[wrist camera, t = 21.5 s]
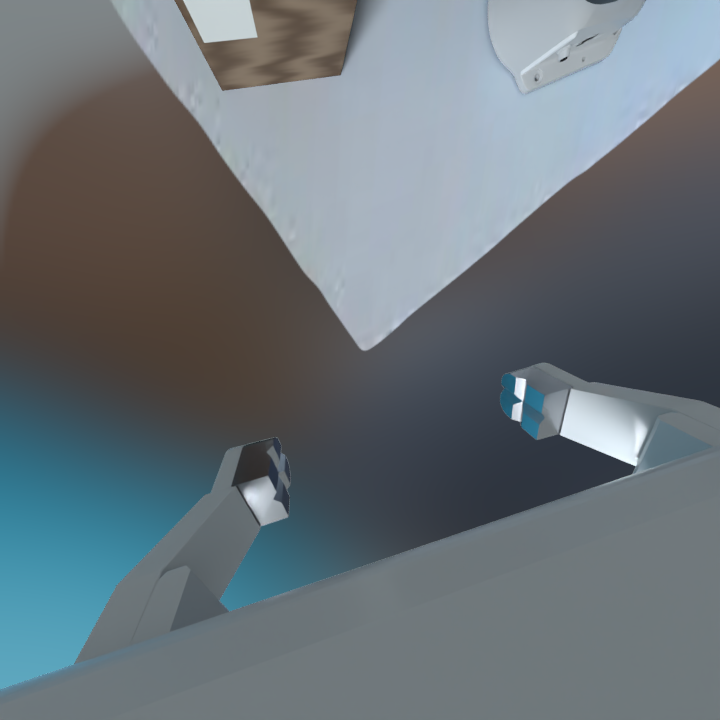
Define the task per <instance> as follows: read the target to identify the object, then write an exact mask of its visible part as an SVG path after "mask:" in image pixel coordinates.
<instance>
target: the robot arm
mask: <svg viewBox="0 0 720 720" xmlns="http://www.w3.org/2000/svg"><path fill="white" fill-rule="evenodd" d="M645 1H646V0H488V26H489V33H490V38H491V42H492V45H493V48H494V50H495V52H496V54H497V56H498V58H499V60H500V61H501V62H502V64H503V65H504V66H505V67H506V68H507V69H508V70H509V71H510V72H511V73H512V74H513V75H514V77H515V80H516V83H517V85H518V88H519V90H520V91H521V92H522V93H523V94H527V93H530V92H532V91H534V90H537V89H539V88H541V87H544V86H546V85H548V84H551V83H553V82H555V81H557V80H560V79H562V78H564V77H567V76H569V75H571V74H574V73H576V72H578V71H581V70H583V69H585V68H587V67H590V66H592V65H594V64H597V63H599V62H601V61H602V60H604V59H605V58H606V57H608V56H609V55H610V53H611V51H612V50H613V48H614V46H615V44H616V42H617V40H618V37H619V35H620V32H621V30H622V27H623V26H624V25H626V24H627V23H628V22H630V21H631V20H632V19H633V18H634V17H635V16H636V15H637V14H638V13H639V11H640V10H641V8H642V6H643V5H644V3H645ZM534 78H536V81H535V79H534ZM501 385H502V386H503V387H504V390H503V391H502V393H501V394H500V404H501V406H502V409H503V410H504V412H505V413H506V415H508V416H509V417H510V418H511V419H513V420H516V421H520V424H521V427H522V428H523V429H524V430H525V431H526V432H528V433H529V434H530V435H531V436H532V437H534V438H535V439H536V440H539V439H542V438H546V437H550V436H553V435H557V434H560V435H561V436H564V437H567V438H569V439H571V440H574V441H576V442H578V443H581V444H583V445H586V446H588V447H591V448H593V449H595V450H598V451H600V452H603V453H605V454H608V455H610V456H612V457H615V458H617V459H620V460H622V461H625V462H627V463H629V464H632V465H634V466H636V467H635V470H634V472H633V474H632V475H629V476H627V477H623V478H620V479H617V480H614V481H612V482H609V483H606V484H603V485H600V486H597V487H594V488H591V489H588V490H585V491H582V492H579V493H576V494H574V495H571V496H568V497H565V498H562V499H559V500H556V501H553V502H550V503H547V504H544V505H541V506H538V507H535V508H532V509H529V510H527V511H524V512H521V513H518V514H515V515H512V516H509V517H506V518H503V519H500V520H497V521H494V522H491V523H489V524H485V525H483V526H480V527H477V528H474V529H471V530H468V531H465V532H462V533H459V534H456V535H453V536H450V537H447V538H445V539H441V540H439V541H436V542H433V543H430V544H427V545H424V546H421V547H418V548H415V549H412V550H409V551H406V552H403V553H401V554H397V555H395V556H392V557H389V558H386V559H383V560H380V561H377V562H374V563H371V564H368V565H365V566H362V567H360V568H356V569H353V570H350V571H348V572H345V573H342V574H339V575H336V576H333V577H330V578H327V579H324V580H321V581H318V582H315V583H312V584H309V585H307V586H303V587H300V588H298V589H295V590H292V591H289V592H286V593H283V594H280V595H277V596H274V597H271V598H268V599H265V600H262V601H259V602H256V603H253V604H251V605H248V606H245V607H242V608H239V609H236V610H233V611H230V612H229V610H228V609H227V608H226V607H225V606H224V605H223V604H222V603H221V602H220V601H219V600H220V598H221V597H222V595H223V593H224V591H225V589H226V588H227V586H228V584H229V583H230V581H231V579H232V577H233V576H234V574H235V572H236V570H237V568H238V567H239V565H240V563H241V561H242V560H243V558H244V556H245V555H246V553H247V551H248V549H249V548H250V546H251V544H252V542H253V540H254V539H255V537H256V535H257V534H258V532H259V530H260V526H263V525H266V524H269V523H272V522H275V521H278V520H281V519H284V518H287V517H289V501H290V497H289V494H288V492H287V489H288V487H289V486H290V482H291V476H290V468H289V464H288V460H287V458H286V456H285V455H283V454H282V453H281V444H280V442H279V440H278V438H276V437H274V438H270V439H266V440H262V441H258V442H254V443H250V444H246V445H243V446H239V447H235V448H231V449H229V450H228V451H227V452H226V453H225V456H224V459H223V461H222V464H221V467H220V469H219V472H218V475H217V477H216V480H215V483H214V485H213V488H212V491H211V493H210V494H207V495H205V496H204V497H203V498H202V499H201V500H200V501H199V502H198V503H197V504H196V505H195V506H194V507H193V508H192V509H191V510H190V511H189V512H188V513H187V514H186V515H185V516H184V517H183V518H182V519H181V520H180V521H179V522H178V523H177V524H176V525H175V526H174V527H173V529H171V531H169V532H168V533H167V535H166V536H165V537H164V538H163V539H162V540H161V541H160V542H159V543H158V544H157V545H156V546H155V547H154V548H153V549H152V550H151V551H150V552H149V553H148V554H147V555H146V556H145V557H144V558H143V559H142V560H141V561H140V562H139V563H138V564H137V565H136V566H135V567H134V568H133V569H132V570H131V571H130V572H129V573H128V574H127V575H126V576H125V578H124V579H123V580H122V581H121V582H120V583H119V584H118V585H117V586H116V588H115V590H114V592H113V593H112V595H111V597H110V599H109V601H108V603H107V604H106V606H105V608H104V610H103V612H102V614H101V615H100V617H99V619H98V621H97V623H96V625H95V627H94V628H93V630H92V632H91V634H90V636H89V637H88V640H87V641H86V643H85V645H84V647H83V648H82V650H81V652H80V654H79V656H78V658H77V659H76V661H75V663H74V665H71V666H68V667H65V668H62V669H59V670H56V671H53V672H51V673H47V674H45V675H42V676H39V677H36V678H33V679H30V680H27V681H24V682H21V683H18V684H15V685H12V686H9V687H6V688H4V689H1V690H0V720H720V408H718V407H715V406H712V405H710V404H708V403H705V402H702V401H698V400H692V399H687V398H681V397H675V396H669V395H664V394H658V393H652V392H647V391H641V390H635V389H629V388H624V387H618V386H613V385H607V384H601V383H596V382H592V383H588V382H586V381H584V380H581V379H579V378H577V377H575V376H573V375H571V374H569V373H567V372H565V371H563V370H561V369H559V368H557V367H554V366H553V365H551V364H549V363H540V364H537V365H534V366H530V367H528V368H525V369H521V370H518V371H514V372H511V373H507V374H504V375H503V377H502V381H501Z"/></svg>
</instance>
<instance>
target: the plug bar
mask: <svg viewBox="0 0 720 720" xmlns="http://www.w3.org/2000/svg"><path fill="white" fill-rule="evenodd" d="M183 1H184V3H185V5H186V7H187V9H188V11H189V13H190V15H191V17H192V19H193V21H194V23H195V25H196V27H197V29H198V31H199V33H200V35H201V37H202V40H203V42H204V43H209V42H218V41H228V40H237V39H247V38H256V37H257V33H256V28H255V23H254V19H253V14H252V10H251V5H250V1H249V0H183Z"/></svg>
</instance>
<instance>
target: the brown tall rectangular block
mask: <svg viewBox="0 0 720 720" xmlns="http://www.w3.org/2000/svg"><path fill="white" fill-rule="evenodd" d="M249 1H250V5H251V10H252V14H253V19H254V23H255V28H256V33H257V37H256V38H247V39H237V40H228V41H218V42H209V43H204V42H203V40H202V37H201V35H200V33H199V31H198V29H197V27H196V25H195V23H194V21H193V19H192V17H191V15H190V13H189V11H188V9H187V7H186V5H185V3H184V1H183V0H175V2H176V4H177V6H178V8H179V10H180V11H181V13H182V15H183V17H184V19H185V21H186V23H187V25H188V27H189V29H190V30H191V32H192V34H193V36H194V38H195V40H196V42H197V44H198V46H199V47H200V49H201V51H202V53H203V55H204V57H205V59H206V61H207V63H208V64H209V66H210V68H211V70H212V72H213V74H214V76H215V78H216V80H217V81H218V83H219V85H220V87H221V89H222V91H224V90H231V89H239V88H246V87H254V86H261V85H269V84H277V83H284V82H292V81H299V80H307V79H315V78H322V77H330V76H337V75H341V71H342V66H343V62H344V57H345V53H346V48H347V44H348V39H349V35H350V30H351V26H352V21H353V17H354V12H355V8H356V4H357V0H249Z"/></svg>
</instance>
